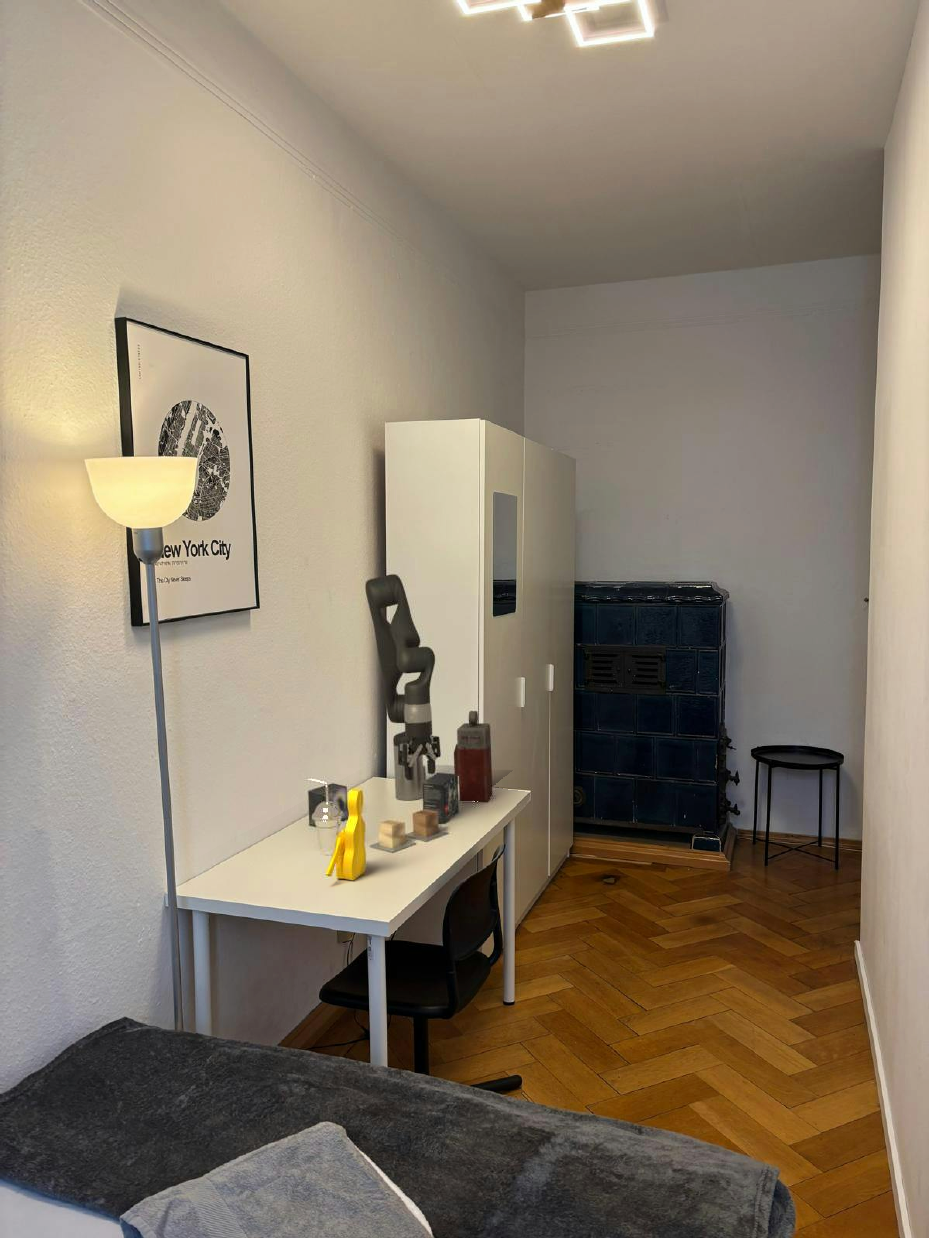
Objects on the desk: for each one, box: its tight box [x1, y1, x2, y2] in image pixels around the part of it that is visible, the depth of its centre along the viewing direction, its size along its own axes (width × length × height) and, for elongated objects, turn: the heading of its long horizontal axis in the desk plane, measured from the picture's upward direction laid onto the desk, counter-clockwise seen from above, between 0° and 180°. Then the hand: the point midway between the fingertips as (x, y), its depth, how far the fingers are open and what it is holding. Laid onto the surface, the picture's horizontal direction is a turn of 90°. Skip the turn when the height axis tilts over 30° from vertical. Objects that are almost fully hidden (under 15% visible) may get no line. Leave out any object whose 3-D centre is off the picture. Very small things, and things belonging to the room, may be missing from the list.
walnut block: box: [412, 809, 440, 838], centre depth 267 cm, size 5×5×6 cm
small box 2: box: [422, 772, 460, 825], centre depth 283 cm, size 13×7×12 cm, turn 161°
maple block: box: [378, 818, 407, 848], centre depth 258 cm, size 5×5×6 cm
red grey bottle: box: [453, 710, 493, 803], centre depth 302 cm, size 9×11×28 cm
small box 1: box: [307, 782, 349, 828], centre depth 282 cm, size 11×6×10 cm, turn 143°
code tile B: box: [369, 840, 417, 854], centre depth 259 cm, size 9×9×1 cm
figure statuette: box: [325, 788, 367, 881], centre depth 235 cm, size 18×8×22 cm, turn 159°
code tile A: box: [405, 829, 449, 843], centre depth 267 cm, size 9×9×1 cm
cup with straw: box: [307, 777, 344, 856], centre depth 254 cm, size 8×9×20 cm
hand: (420, 776), depth 266 cm, fingers open, 8 cm apart
